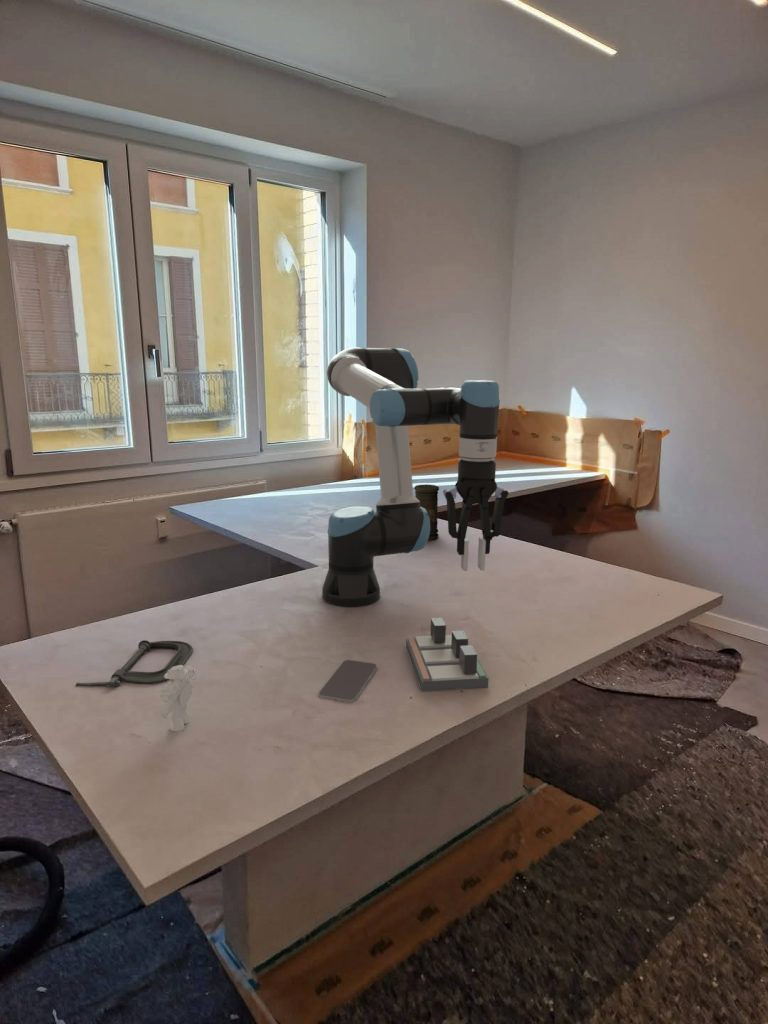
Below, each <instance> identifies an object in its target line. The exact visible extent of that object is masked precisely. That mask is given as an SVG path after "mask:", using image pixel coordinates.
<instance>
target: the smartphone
mask: <svg viewBox="0 0 768 1024" xmlns="http://www.w3.org/2000/svg"><path fill="white" fill-rule="evenodd" d="M377 669H378V665H377V664H376V663H373V662H367V661H360V660H352V659H345V660H343V661H342V662H341V663H340V665H339V666H338V667H337V669H336V670H335V671H334V672H333V674H332V675H331V676H330V678H329V679H328V680H327V681H326V683H324V685H323V686H322V687H321V689H320V690H319V691H318V697H319V698H322V699H328V700H336V701H338V702H344V703H354V702H355V701H357V699H358V698H359V696H360V694H361V693H362V691H363V690H364V689H365V688H366V686H367V684H368V683H369V681H370V680H371V678H372V677H373V676H374V674H375V672H376V671H377Z"/></svg>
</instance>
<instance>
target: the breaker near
mask: <svg viewBox="0 0 768 1024" xmlns="http://www.w3.org/2000/svg"><path fill="white" fill-rule="evenodd" d="M473 646H474V645H471V644H469V645H468V646H460V658H459V665H460V667H461V669H462V671H463V673H464V674H476V671H477V659H478V654H477V652H476V650H475V648H474V647H473Z"/></svg>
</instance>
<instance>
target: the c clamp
mask: <svg viewBox="0 0 768 1024" xmlns="http://www.w3.org/2000/svg"><path fill="white" fill-rule="evenodd" d="M137 646H138V650H137V651H136V652H135V653H134V654H133V655H131V657H130V658H129V659H128V660H127V662H126V663H124V665H123V666H122V667H121V668H118V669H117V670H115V672H114V673H112V675H111V677H110V680H109V681H101V682H100V681H99V682H76V684H75V687H102V686H103V687H104V686H107V687H108V688H110V689H113V688H115V687H116V686H117V687H118V686H120V685H121V682H126V683H127V682H128V683H134V684H139V685H140V684H142V685H157V684H161V683H165V682H169V681H170V679H166V678H165V677H164V675H165V674H166V673H167V671H168V670H170V669H171V668H172V667H174V666H178V665H184V666H185V664H186V663H187V661H188V660H189V658H190V657H191V656H192V654H193V653H194V648H193V646H192V644H190V643H188V642H184V641H178V640H160V641H158V640H157V641H149V640H146V639H145V640H144V639H143V640H141V641H140V642H138V645H137ZM157 649H158V650H174V651H176V652H175V653H174V654H173V656H172V657H171V658H170V659H169V661H168V663H167V664H166V665H165V666H164V667H163V668H161V669H159V670H156V671H138V670H137V671H136V670H135V671H133V670H131V671H130V669H132V667H133V666H134V665H135V664H136V663H137V662H138V661H139V659H140V658H141V657H142V656H143V655H144V654H145V653H146V652H150V651H151V650H157Z"/></svg>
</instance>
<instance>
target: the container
mask: <svg viewBox="0 0 768 1024" xmlns="http://www.w3.org/2000/svg"><path fill="white" fill-rule="evenodd" d="M413 490H414V496H415V497H416V498H417V499H418V500H419V501H420V507H422V508H424V509H426V511H427V512H428V516H429V519H430V533H429V538H428V540H429V541H435V540H437V539H439V533H438V532H439V529H438V506H439V505H438V500H439V498H438V495H439V490H440V487H439V486H438V485H435V484H428V483H427V484H417V485H415V486H413Z"/></svg>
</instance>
